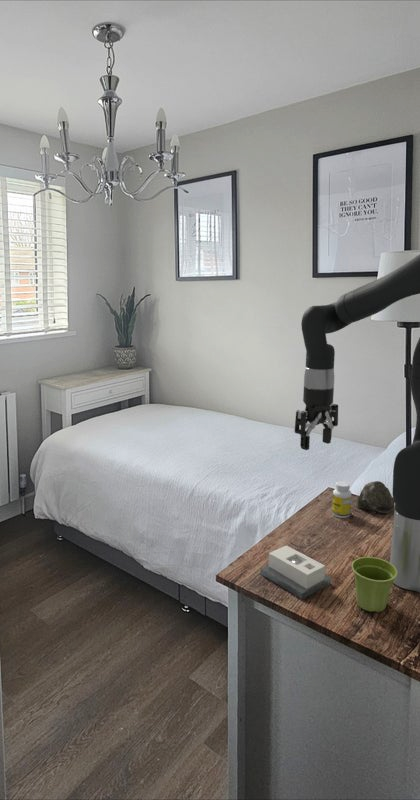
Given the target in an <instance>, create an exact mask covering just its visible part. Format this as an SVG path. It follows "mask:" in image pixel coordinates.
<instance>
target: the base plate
mask: <svg viewBox="0 0 420 800" xmlns="http://www.w3.org/2000/svg"><path fill="white" fill-rule="evenodd" d="M291 562H292V563H294V564H296V565H298V564H300V563H301V560H299V559H292V560H291ZM260 575H262V576H263V577H264V578H267V580H269V581H271V582H273V583H274V584H276V585H277V586H279V587H281V588H283V589H284V590H286V591H287V592H288V593H291V594H292V595H294V596H295V597H297V598H299V599H300V600H304V599H305V598H308V597H310V596H311V595H313V594H315V593H317V592H319V591H320V590H322V589H324V588H326V587H327V586H330V585H331V584H332V577H331V576H329V575H328V574H326V573H325V578H324V580H323V581H321V582H319V583H317V584H315V585H313V586H312V587H310V588H308V589H306V588H304V587H303V586H301V585H299V584H298V583H296V582H294V581H292V580H291V579H289V578H287V577H286V576H284V575H282V574H281V573H279V572H277V571H276V570H274V569H272V568H270V567H269V564H267V565H265V566H264V567H263V566H262V567H261V568H260Z"/></svg>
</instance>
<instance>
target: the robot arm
mask: <svg viewBox="0 0 420 800" xmlns="http://www.w3.org/2000/svg"><path fill="white" fill-rule="evenodd" d="M419 294H420V253H419V254H418V255H416V256H415V257H414V258H411V259H410V260H409V261H407V262H406V263H405V264H403V265H401V266H400V267H399V268H396V269H394V270H393V271H392V272H389V273H388V274H385V275H384V276H382V277H380V278H377V279H376V280H372V281H371V282H368V283H367V284H364V285H362V286H359V287H357V288H355V289H353V290H351V291H348V292H347V293H345V294H342V295H341V296H339V297H338V298H337V300H336V301H334V302H333V303H330V304H325V305H324V304H323V305H322V304H321V305H312V306H309V307H307V309H305V311H304V313H303V314H302V318H301V332H302V337H303V342H304V347H305V351H306V353H305V368H304V369H305V371H304V374H303V375H304V376H303V392H302V393H303V394H302V395H303V398H302V401H303V403H304V405H305V408H304V410H299V409H297V410H296V411H295V422H294V434H298V435H300V444H299V445H300V448H301V450H305V451H308V450H310V440H311V439H310V437H311V436H310V434H311V432H312V430H314V429H315V428H316V426H319V425H320V424H321V425H322V427H323V428H322V443H324V444H331V442H332V432H333V431H332V430H334V427H337V426H338V424H339V404H336V403H334V395H335V394H334V391H335V355H336V353H335V352H336V351H335V348H334V346H333V345H332V344H330V343H328V341H327V334H333V333H335V332H338V331H340V330H342V329H344V328H346V327H348V326H349V325H352V324H353V323H356V322H358V321H359V322H360V321H362V320H364V319H366V318H369V317H370V316H375V315H376V314H379V313H380V312H382V311H383V310H385V309H387V308H388V307H389V306H391V305H393V304H395V303H396V302H398V301H401V300H403V299H406V298H408V297H411V296H415V295H419ZM410 372H411V373H410V382H409V383H410V390H411V396H412V400H413V403H414V407H415V412H416V414H415V415H416V419H415V420H416V422H415V423H416V424H415V428H414V435H413V438H412V443H411V444H410V445H408V446H405V447H404V448H402V449H401V450H399V452H398V453H397V455H396V456H395V459H394V463H393V471H392V472H393V474H392V497H393V499H394V501H395V504H394V513H393V522H392V523H393V524H392V533H391V534H392V535H391V546H390V556H389V557H390V558H389V563H391V564H392V565H394V566H395V568H396V569H397V572H398V573H397V577H396V578H395V579H394V581H393V583H392V584H394V585H396V586H397V587H399V588H402V589H404V590H409V591H415V592H418V593H420V337H419V338H418V340H417V343H416V345H415V349H414V351H413V355H412V361H411V371H410Z"/></svg>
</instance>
